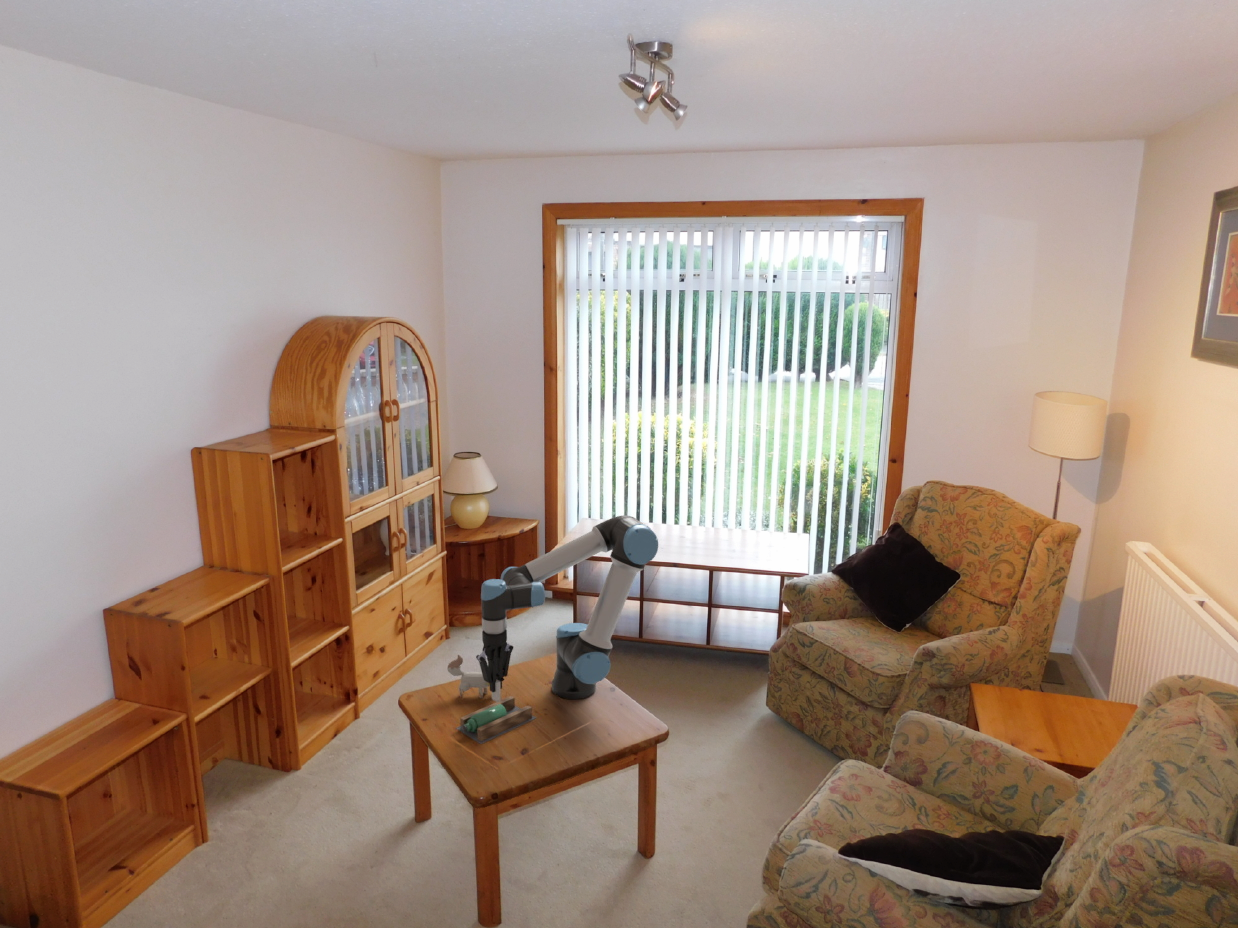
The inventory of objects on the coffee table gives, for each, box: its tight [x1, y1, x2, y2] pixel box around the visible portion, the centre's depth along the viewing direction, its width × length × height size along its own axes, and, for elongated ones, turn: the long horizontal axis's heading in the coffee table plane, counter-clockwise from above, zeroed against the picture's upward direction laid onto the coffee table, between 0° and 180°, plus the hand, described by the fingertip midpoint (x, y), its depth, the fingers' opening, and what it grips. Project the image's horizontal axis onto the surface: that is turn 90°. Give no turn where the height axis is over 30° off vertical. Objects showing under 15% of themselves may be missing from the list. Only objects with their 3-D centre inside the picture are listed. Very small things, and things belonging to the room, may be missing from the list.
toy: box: [447, 654, 490, 699], centre depth 277 cm, size 9×19×15 cm, turn 89°
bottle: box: [460, 704, 507, 734], centre depth 258 cm, size 5×5×15 cm
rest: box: [459, 695, 533, 741], centre depth 261 cm, size 20×11×4 cm, turn 136°
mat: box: [455, 705, 537, 745], centre depth 262 cm, size 22×13×1 cm, turn 136°
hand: (496, 699), depth 260 cm, fingers closed
